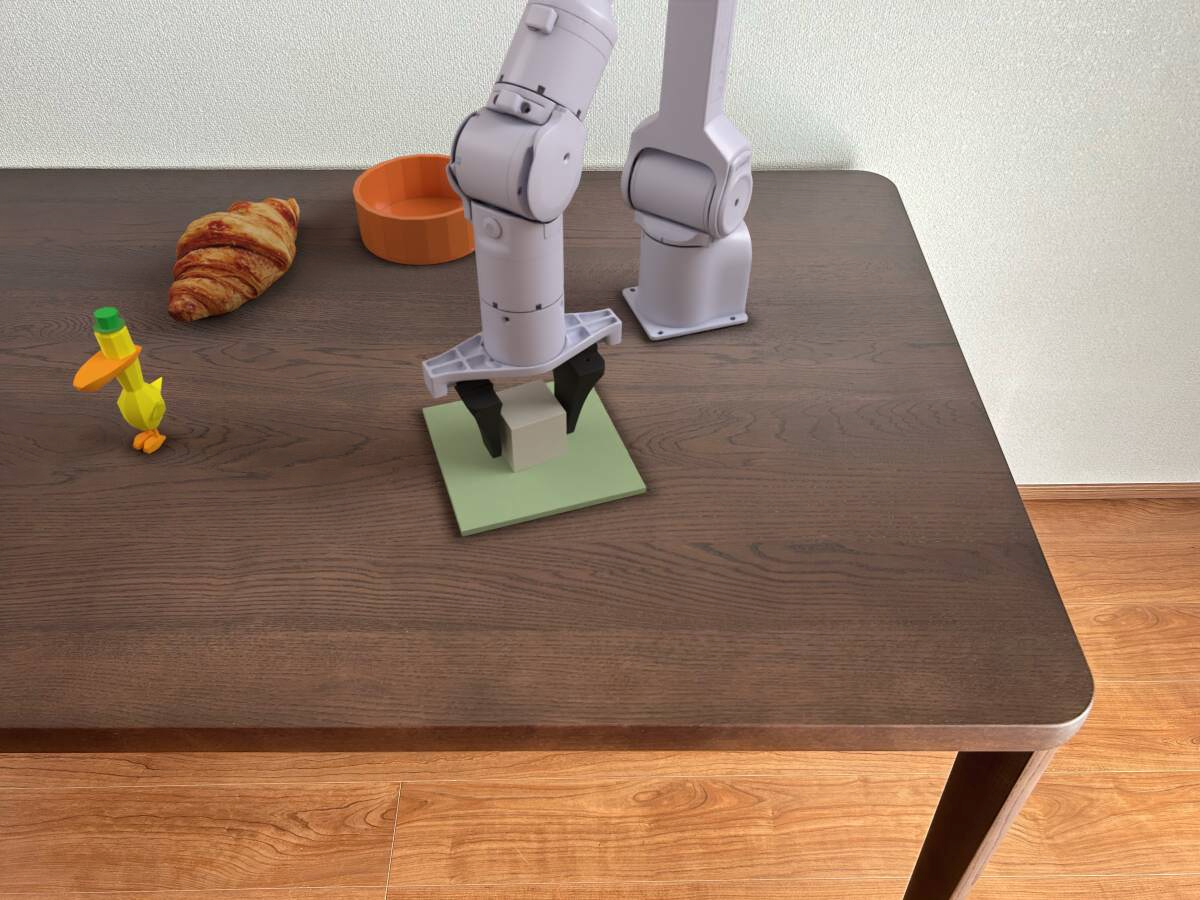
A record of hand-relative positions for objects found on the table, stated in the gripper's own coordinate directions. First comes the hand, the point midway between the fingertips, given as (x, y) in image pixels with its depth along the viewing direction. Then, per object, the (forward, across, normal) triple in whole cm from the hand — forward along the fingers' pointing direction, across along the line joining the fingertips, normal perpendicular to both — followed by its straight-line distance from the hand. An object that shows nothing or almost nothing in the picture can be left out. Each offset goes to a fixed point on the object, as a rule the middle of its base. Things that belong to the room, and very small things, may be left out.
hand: (529, 437), depth 74 cm
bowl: (+2, -4, -35) cm, 35 cm away
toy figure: (+2, +26, -14) cm, 30 cm away
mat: (+2, 0, 0) cm, 2 cm away
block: (+1, 0, 0) cm, 1 cm away
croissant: (+2, +14, -34) cm, 37 cm away
